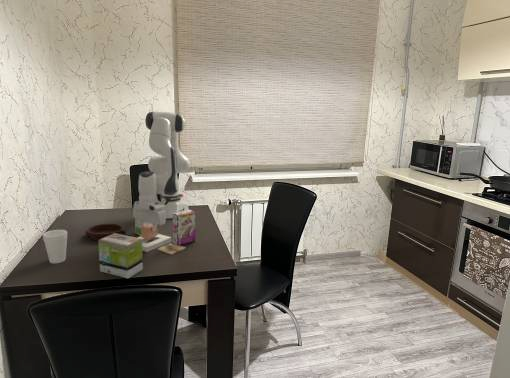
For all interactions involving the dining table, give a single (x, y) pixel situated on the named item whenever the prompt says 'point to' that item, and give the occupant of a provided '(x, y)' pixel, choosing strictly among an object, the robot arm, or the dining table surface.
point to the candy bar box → (184, 227)
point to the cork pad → (171, 248)
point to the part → (148, 231)
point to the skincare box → (139, 226)
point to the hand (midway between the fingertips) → (149, 229)
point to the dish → (104, 231)
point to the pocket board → (155, 242)
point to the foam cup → (56, 245)
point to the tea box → (120, 255)
